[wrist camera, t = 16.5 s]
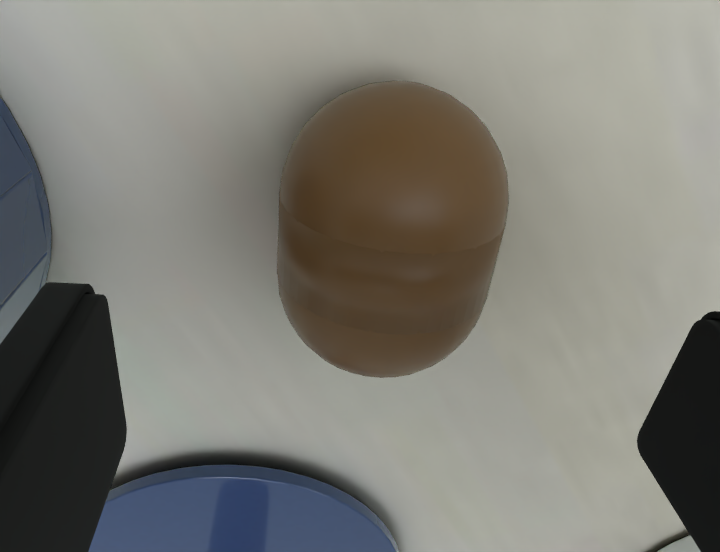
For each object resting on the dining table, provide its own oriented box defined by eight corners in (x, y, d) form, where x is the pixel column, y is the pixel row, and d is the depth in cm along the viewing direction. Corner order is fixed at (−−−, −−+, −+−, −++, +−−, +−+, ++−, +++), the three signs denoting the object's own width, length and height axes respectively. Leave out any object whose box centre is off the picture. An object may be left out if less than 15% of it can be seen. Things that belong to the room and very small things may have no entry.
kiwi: (288, 50, 14) (275, 105, 10) (496, 70, 15) (576, 131, 10) (279, 312, 18) (266, 439, 14) (442, 320, 19) (483, 444, 14)
